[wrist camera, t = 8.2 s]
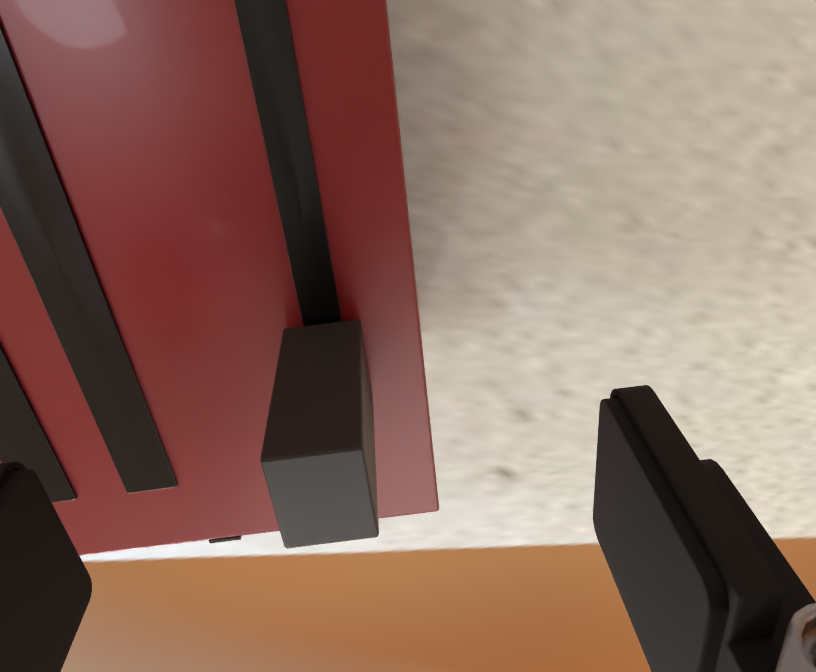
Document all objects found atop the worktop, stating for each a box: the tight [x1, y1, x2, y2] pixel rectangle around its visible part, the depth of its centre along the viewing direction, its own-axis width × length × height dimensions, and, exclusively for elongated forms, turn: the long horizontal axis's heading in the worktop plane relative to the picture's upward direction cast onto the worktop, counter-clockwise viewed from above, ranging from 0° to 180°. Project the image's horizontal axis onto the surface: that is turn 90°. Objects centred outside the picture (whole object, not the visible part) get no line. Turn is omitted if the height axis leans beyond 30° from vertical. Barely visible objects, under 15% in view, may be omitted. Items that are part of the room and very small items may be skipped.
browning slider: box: [260, 320, 379, 548], centre depth 12 cm, size 2×2×4 cm
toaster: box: [0, 0, 439, 556], centre depth 16 cm, size 16×11×9 cm
